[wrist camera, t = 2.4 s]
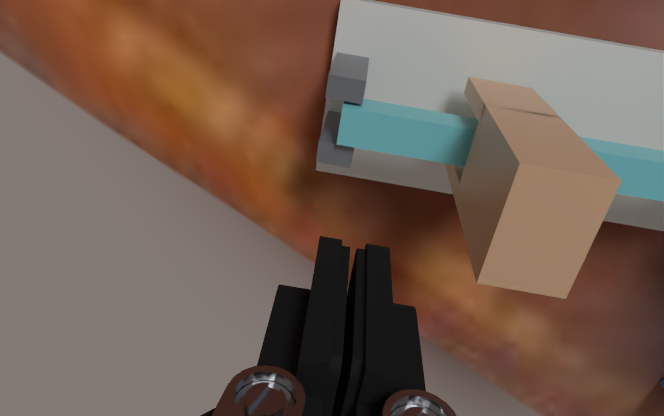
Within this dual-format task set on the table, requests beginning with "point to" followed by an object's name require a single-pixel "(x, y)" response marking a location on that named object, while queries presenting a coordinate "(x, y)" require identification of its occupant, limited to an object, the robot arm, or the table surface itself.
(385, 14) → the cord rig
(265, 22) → the table surface
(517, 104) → the tan slotted box
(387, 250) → the robot arm
